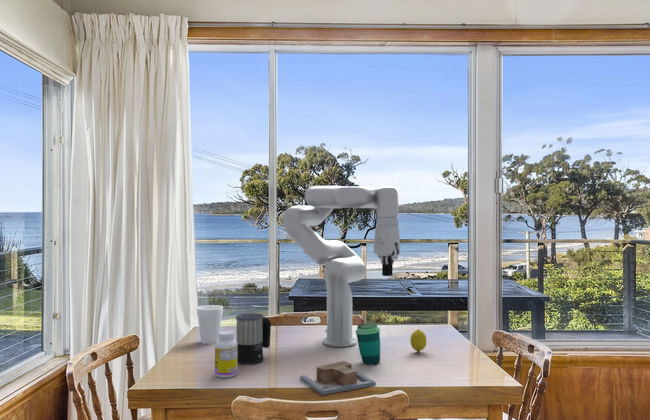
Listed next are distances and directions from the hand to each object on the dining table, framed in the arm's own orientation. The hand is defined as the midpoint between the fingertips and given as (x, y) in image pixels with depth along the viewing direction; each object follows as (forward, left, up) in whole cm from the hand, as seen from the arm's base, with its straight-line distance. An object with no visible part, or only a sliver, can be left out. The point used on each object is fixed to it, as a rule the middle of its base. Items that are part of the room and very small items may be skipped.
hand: (387, 275), depth 173 cm
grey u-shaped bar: (+17, -29, -27) cm, 43 cm away
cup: (+5, -11, -27) cm, 30 cm away
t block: (+17, -28, -27) cm, 43 cm away
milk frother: (-18, -46, -27) cm, 56 cm away
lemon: (+3, +11, -27) cm, 30 cm away
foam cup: (-43, -51, -27) cm, 72 cm away
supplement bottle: (-3, -56, -27) cm, 62 cm away
